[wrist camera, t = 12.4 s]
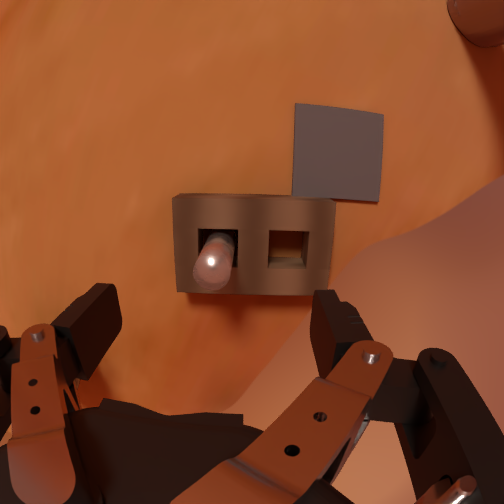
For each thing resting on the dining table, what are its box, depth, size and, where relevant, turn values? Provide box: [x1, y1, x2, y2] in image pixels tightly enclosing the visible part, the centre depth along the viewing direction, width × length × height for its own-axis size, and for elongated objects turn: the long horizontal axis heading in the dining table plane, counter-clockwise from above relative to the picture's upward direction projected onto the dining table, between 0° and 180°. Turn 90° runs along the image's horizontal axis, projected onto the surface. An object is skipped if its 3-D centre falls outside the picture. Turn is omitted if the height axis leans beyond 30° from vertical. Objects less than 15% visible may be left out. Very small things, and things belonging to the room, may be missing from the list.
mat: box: [292, 103, 384, 202], centre depth 30 cm, size 10×10×1 cm
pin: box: [193, 229, 236, 290], centre depth 29 cm, size 3×3×10 cm
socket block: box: [172, 193, 336, 295], centre depth 32 cm, size 16×10×4 cm, turn 88°
